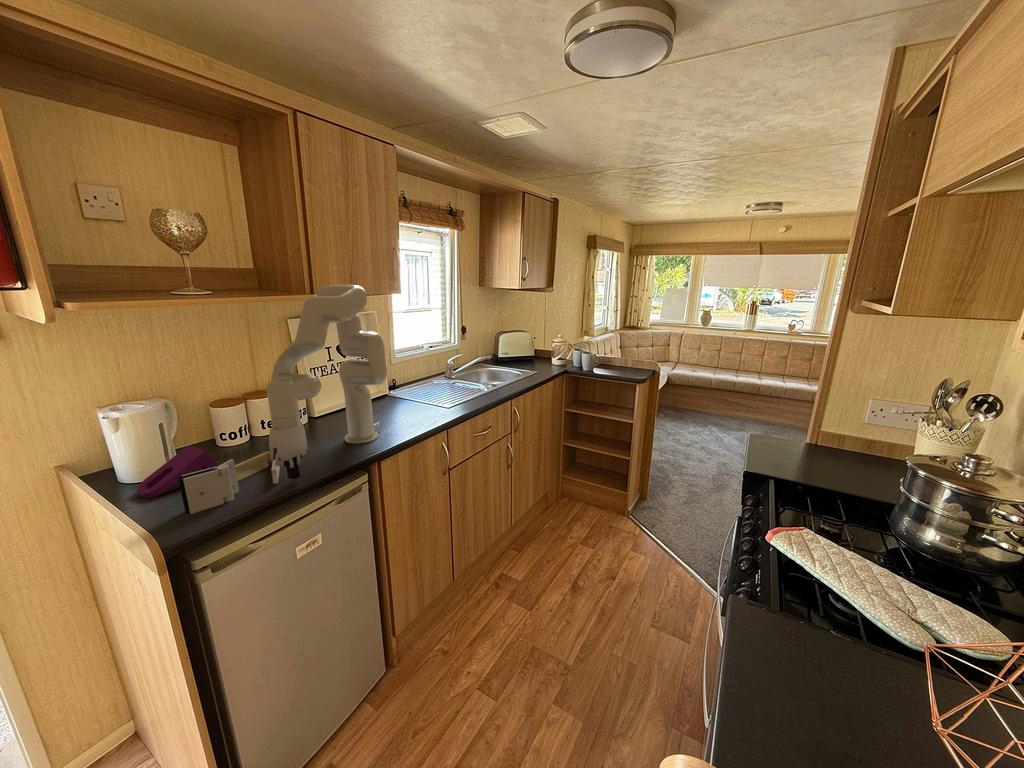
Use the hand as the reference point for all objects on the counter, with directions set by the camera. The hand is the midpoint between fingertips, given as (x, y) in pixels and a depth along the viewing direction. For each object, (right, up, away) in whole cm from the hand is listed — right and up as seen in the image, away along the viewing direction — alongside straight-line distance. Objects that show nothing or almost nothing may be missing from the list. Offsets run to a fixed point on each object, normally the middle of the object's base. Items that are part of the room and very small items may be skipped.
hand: (294, 477), depth 125 cm
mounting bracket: (-35, -2, 0) cm, 35 cm away
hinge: (-16, -4, -11) cm, 20 cm away
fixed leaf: (-16, 0, +6) cm, 17 cm away
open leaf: (-8, 0, +6) cm, 10 cm away
